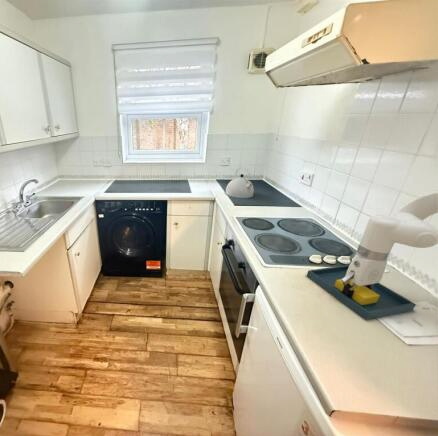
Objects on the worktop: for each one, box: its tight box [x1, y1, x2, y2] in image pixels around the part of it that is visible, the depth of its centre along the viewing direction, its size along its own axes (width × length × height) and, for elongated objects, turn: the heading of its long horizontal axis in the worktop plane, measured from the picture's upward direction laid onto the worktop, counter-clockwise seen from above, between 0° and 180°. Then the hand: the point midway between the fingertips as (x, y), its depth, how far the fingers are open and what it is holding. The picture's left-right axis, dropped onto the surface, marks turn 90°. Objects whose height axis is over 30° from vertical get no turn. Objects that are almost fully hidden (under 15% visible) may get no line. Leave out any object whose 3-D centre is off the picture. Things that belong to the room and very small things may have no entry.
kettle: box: [224, 166, 255, 199], centre depth 198 cm, size 25×23×22 cm
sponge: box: [334, 279, 380, 307], centre depth 84 cm, size 10×6×4 cm, turn 12°
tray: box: [306, 264, 417, 321], centre depth 88 cm, size 20×24×3 cm
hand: (354, 295), depth 85 cm, fingers closed on sponge, 6 cm apart
